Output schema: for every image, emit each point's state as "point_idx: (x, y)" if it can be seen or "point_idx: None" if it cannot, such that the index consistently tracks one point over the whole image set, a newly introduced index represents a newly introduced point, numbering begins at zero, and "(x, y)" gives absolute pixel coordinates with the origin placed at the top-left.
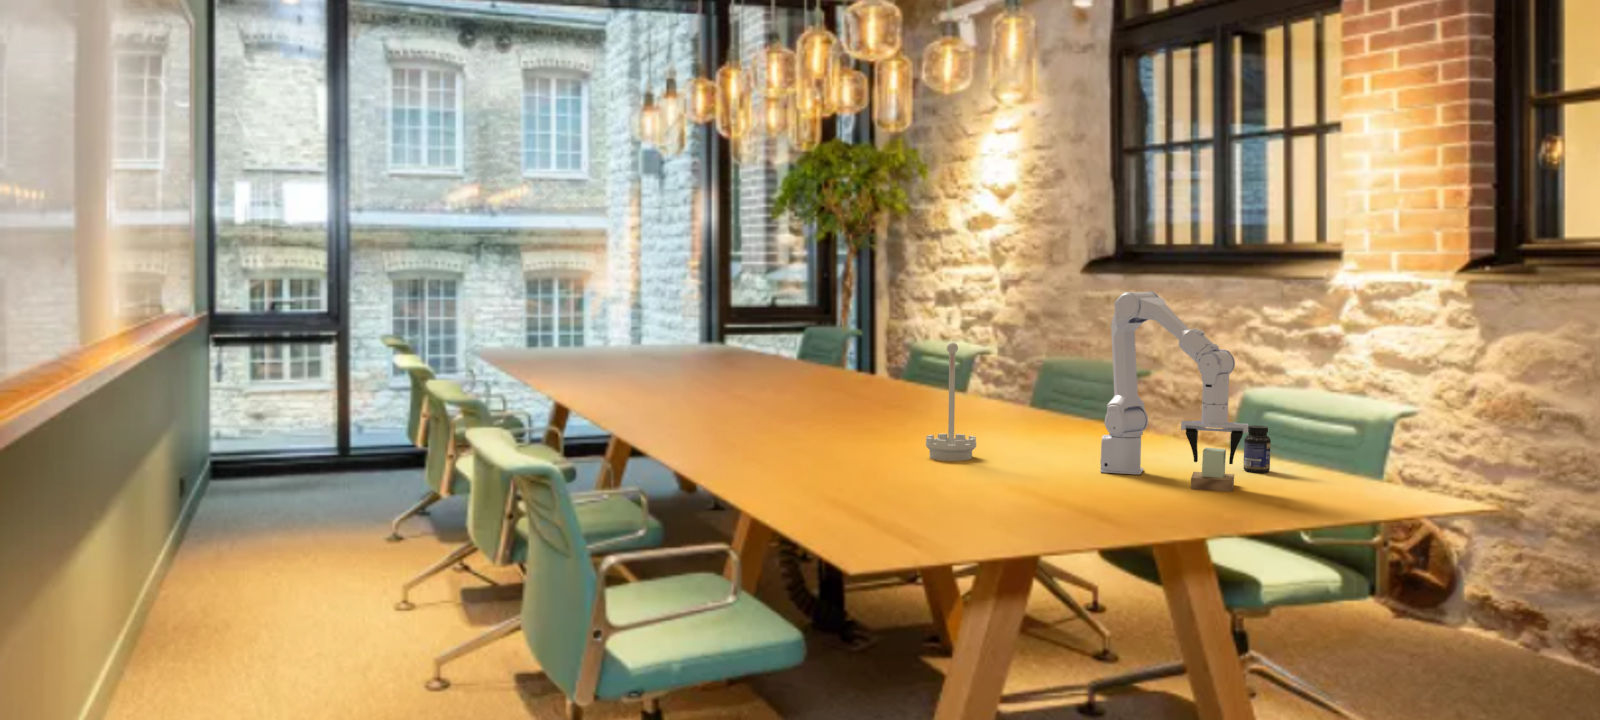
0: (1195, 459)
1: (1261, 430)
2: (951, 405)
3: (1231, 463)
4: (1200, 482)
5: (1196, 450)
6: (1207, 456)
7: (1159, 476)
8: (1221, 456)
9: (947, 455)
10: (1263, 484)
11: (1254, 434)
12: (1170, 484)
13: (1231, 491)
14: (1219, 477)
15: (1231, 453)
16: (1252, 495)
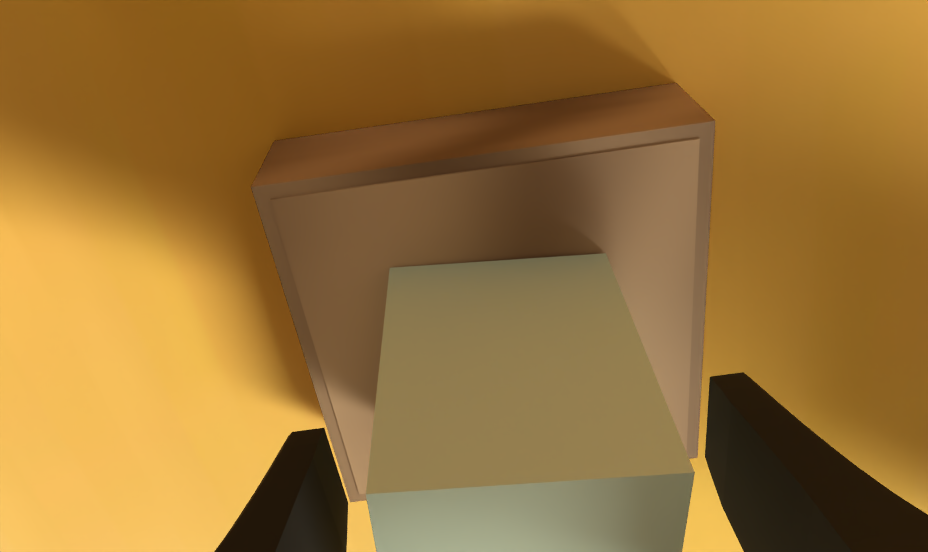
0: (744, 388)
1: None
2: None
3: (295, 436)
4: (597, 123)
5: (790, 473)
6: (598, 410)
7: (918, 482)
8: (398, 434)
9: None
10: (178, 532)
11: None
12: (863, 223)
13: (283, 141)
14: (420, 269)
15: (266, 527)
16: (27, 35)
